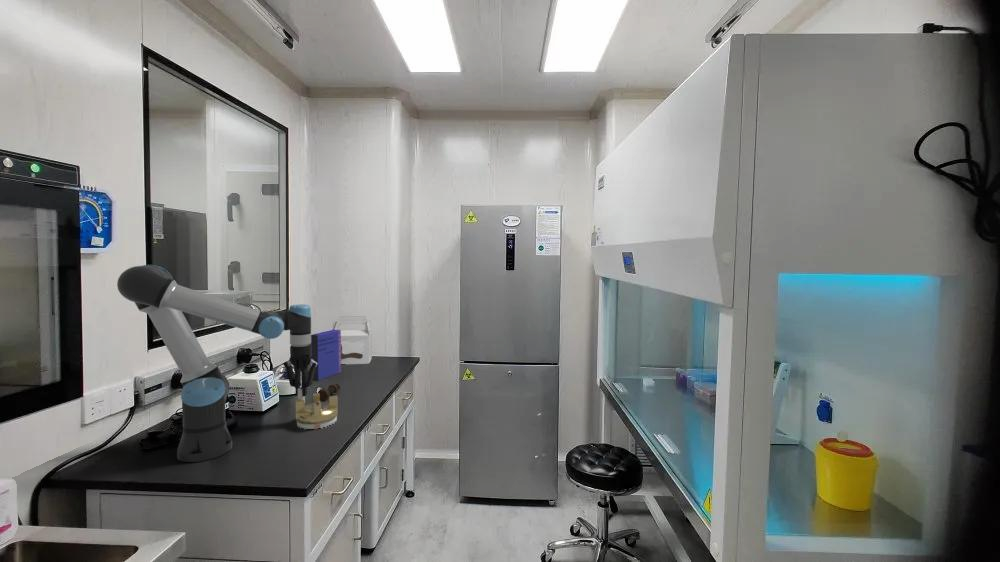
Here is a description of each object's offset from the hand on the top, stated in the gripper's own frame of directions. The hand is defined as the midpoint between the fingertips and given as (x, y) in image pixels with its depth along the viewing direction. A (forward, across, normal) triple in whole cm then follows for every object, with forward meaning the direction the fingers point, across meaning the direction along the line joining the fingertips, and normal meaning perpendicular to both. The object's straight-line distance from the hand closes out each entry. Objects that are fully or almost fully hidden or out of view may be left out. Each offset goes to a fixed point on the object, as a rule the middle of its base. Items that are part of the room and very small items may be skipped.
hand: (301, 403), depth 168 cm
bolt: (+8, +2, -32) cm, 32 cm away
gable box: (+8, +15, -95) cm, 96 cm away
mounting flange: (+7, -6, 0) cm, 9 cm away
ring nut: (+5, -6, 0) cm, 8 cm away
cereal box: (+8, +17, -63) cm, 66 cm away
